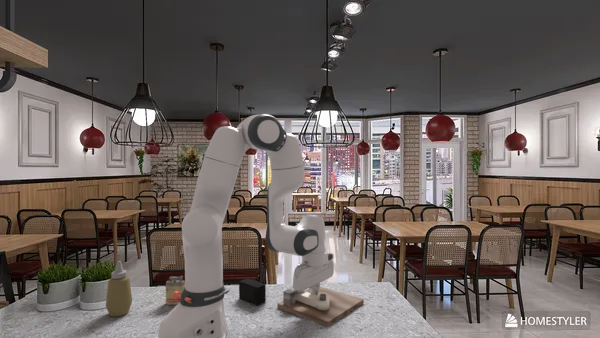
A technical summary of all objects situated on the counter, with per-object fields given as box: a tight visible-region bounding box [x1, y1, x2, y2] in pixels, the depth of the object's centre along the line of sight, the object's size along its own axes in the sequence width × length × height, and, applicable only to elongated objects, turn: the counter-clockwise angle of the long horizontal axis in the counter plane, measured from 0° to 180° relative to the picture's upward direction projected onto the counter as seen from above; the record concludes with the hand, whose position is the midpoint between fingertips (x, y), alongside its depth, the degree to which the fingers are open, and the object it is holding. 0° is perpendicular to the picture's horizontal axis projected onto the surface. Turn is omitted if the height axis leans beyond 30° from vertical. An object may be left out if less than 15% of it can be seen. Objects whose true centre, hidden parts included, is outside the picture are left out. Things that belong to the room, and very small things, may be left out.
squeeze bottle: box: [105, 260, 133, 318], centre depth 114 cm, size 8×8×18 cm
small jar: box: [165, 275, 185, 306], centre depth 123 cm, size 7×4×10 cm, turn 89°
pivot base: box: [276, 286, 365, 327], centre depth 121 cm, size 23×22×6 cm
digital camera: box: [238, 278, 267, 307], centre depth 125 cm, size 10×5×7 cm, turn 49°
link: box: [295, 290, 330, 311], centre depth 119 cm, size 18×5×2 cm, turn 46°
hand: (314, 295), depth 121 cm, fingers closed
